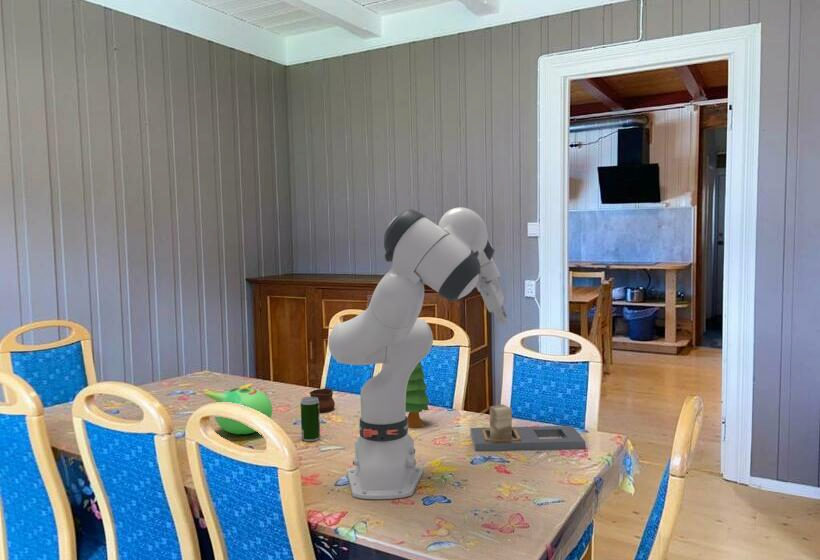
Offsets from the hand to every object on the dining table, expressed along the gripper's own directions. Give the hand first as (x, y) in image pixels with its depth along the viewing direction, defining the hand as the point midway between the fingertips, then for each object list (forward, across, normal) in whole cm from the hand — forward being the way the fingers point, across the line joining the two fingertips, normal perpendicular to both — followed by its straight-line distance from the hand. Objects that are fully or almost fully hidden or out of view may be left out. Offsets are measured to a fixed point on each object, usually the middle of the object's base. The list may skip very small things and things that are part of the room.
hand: (504, 321), depth 177 cm
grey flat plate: (+34, -1, +9) cm, 35 cm away
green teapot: (0, -4, +86) cm, 87 cm away
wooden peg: (+31, -2, +15) cm, 35 cm away
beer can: (+9, -6, +66) cm, 66 cm away
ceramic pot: (+7, +24, +72) cm, 76 cm away
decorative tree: (+20, +11, +40) cm, 46 cm away
